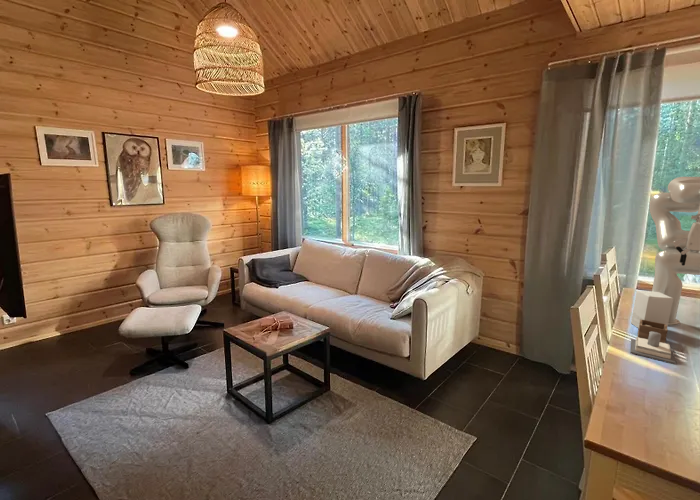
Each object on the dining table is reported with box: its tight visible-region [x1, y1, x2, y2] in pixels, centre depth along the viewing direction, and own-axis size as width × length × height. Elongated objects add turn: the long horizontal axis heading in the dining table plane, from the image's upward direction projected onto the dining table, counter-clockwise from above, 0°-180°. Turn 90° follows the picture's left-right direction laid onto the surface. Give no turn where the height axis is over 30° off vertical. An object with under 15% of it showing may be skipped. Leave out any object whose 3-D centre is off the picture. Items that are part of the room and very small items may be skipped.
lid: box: [635, 331, 671, 359], centre depth 129 cm, size 9×9×6 cm
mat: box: [629, 338, 676, 365], centre depth 130 cm, size 14×12×1 cm
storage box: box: [637, 319, 668, 343], centre depth 139 cm, size 8×8×6 cm
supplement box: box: [630, 290, 673, 329], centre depth 150 cm, size 9×9×15 cm
